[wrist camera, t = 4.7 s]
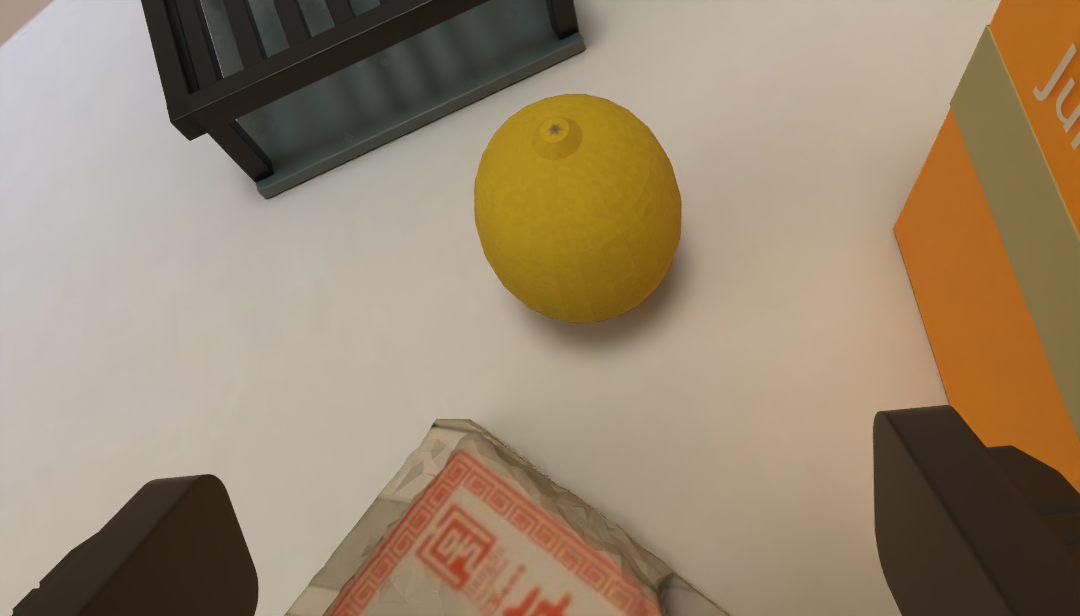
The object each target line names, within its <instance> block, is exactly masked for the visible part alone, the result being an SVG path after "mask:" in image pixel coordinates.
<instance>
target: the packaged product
mask: <svg viewBox="0 0 1080 616" xmlns="http://www.w3.org/2000/svg"><path fill="white" fill-rule="evenodd" d="M284 616H729V615H728V614H727V613H725V612H724V611H723V610H722V609H720V608H719V607H718V606H716V605H715V604H714V603H713V602H711V601H710V600H709V599H707V598H706V597H705V596H704V595H702V594H701V593H700V592H699V591H697V590H696V589H695V588H693V587H692V586H691V585H690V584H688V583H687V582H686V581H684V580H683V579H682V578H681V577H679V576H678V575H677V574H675V573H674V571H672V570H671V569H670V568H669V567H668V566H667V565H666V564H664V563H663V562H662V561H661V560H660V559H658V558H657V557H655V556H654V555H652V554H651V553H649V552H648V551H646V550H645V549H643V548H642V547H641V546H640V545H638V544H637V543H636V542H634V541H633V540H632V539H631V538H630V537H629V536H628V535H627V534H626V533H625V532H624V531H623V529H621V528H620V527H618V526H617V525H615V524H614V523H612V522H611V521H609V520H608V519H606V518H605V517H603V516H602V515H600V514H599V513H598V512H597V511H595V510H594V509H593V508H591V507H590V506H589V505H587V504H586V503H585V502H583V501H582V500H581V499H579V498H578V497H577V496H575V495H574V494H572V493H571V492H570V491H568V490H566V489H563V488H560V487H559V486H558V485H556V484H555V483H553V482H552V481H551V480H549V479H548V478H547V477H545V476H544V475H542V474H541V473H540V472H538V471H537V470H536V469H534V468H533V467H532V466H530V465H529V464H527V463H526V462H525V461H524V460H522V459H521V458H520V457H518V456H517V455H516V454H515V453H513V452H512V451H511V450H509V449H508V448H507V447H506V446H504V445H503V444H502V443H500V442H499V441H498V440H496V439H495V438H494V437H493V436H491V435H490V434H489V433H487V432H486V431H485V430H484V429H482V428H481V427H480V426H478V425H477V424H476V423H475V422H473V421H472V420H471V419H436V420H435V422H434V423H433V425H432V427H431V428H430V430H429V432H428V433H427V435H426V437H425V438H424V440H423V441H422V443H421V445H420V446H419V447H418V448H417V449H416V450H415V451H414V452H413V453H411V454H410V455H409V457H408V458H407V460H406V462H405V463H404V465H403V466H402V468H401V469H400V470H399V471H398V472H397V474H396V475H395V476H394V477H393V478H392V480H391V481H390V482H389V483H388V484H387V485H386V487H385V488H384V489H383V490H382V491H381V493H380V494H379V495H378V497H377V498H376V499H375V501H374V502H373V503H372V505H371V506H370V507H369V508H368V510H367V511H366V512H365V514H364V515H363V516H362V517H361V519H360V520H359V521H358V523H357V524H356V525H355V526H354V528H353V529H352V530H351V532H350V533H349V534H348V535H347V536H346V538H345V539H344V540H343V541H342V543H341V544H340V545H339V546H338V548H337V549H336V550H335V551H334V553H333V554H332V556H331V557H330V559H329V560H328V561H327V563H326V564H325V566H324V567H323V568H322V569H321V570H320V571H319V572H318V573H317V574H316V575H315V576H314V577H313V579H312V580H311V582H310V583H309V585H308V586H307V588H306V589H305V590H304V591H303V592H302V594H301V595H300V596H299V597H298V598H297V600H296V601H295V602H294V603H293V605H292V606H291V607H290V609H289V610H288V611H287V613H286V614H285V615H284Z"/></svg>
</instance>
